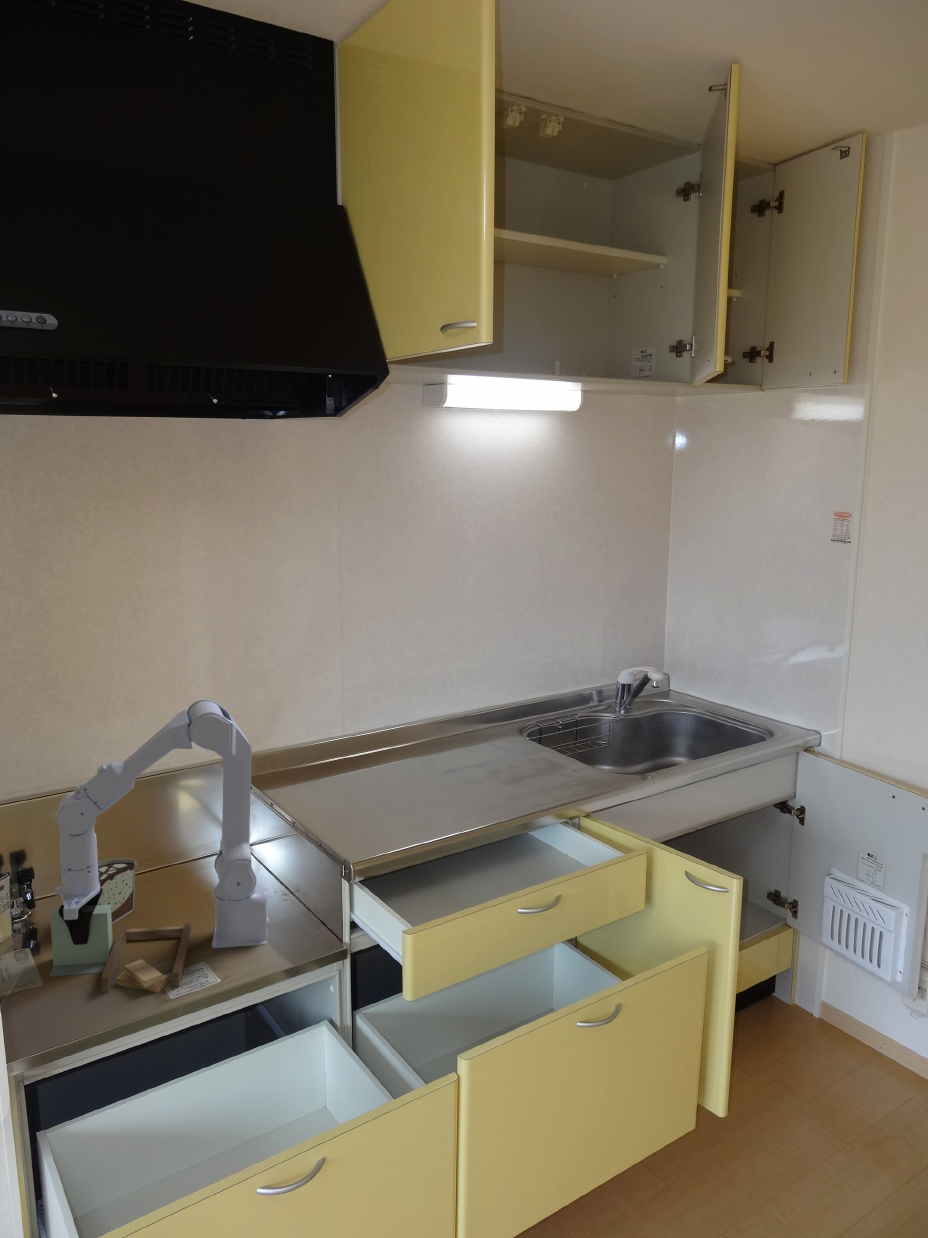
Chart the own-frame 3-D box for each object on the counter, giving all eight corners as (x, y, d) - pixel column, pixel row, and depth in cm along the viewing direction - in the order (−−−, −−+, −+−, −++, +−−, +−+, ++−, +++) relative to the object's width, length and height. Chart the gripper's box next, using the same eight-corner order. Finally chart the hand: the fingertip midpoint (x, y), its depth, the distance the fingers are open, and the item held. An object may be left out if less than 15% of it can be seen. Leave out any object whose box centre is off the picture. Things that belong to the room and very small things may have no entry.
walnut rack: (191, 935, 162) (191, 920, 162) (179, 989, 146) (178, 972, 145) (122, 940, 160) (121, 924, 160) (101, 995, 144) (101, 978, 143)
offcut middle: (168, 982, 147) (168, 976, 147) (157, 992, 144) (157, 986, 144) (127, 975, 149) (127, 968, 149) (116, 985, 146) (116, 978, 146)
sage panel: (113, 952, 155) (110, 904, 154) (109, 962, 152) (107, 913, 151) (57, 956, 154) (55, 907, 152) (53, 966, 151) (50, 916, 149)
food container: (114, 900, 174) (111, 852, 173) (139, 906, 172) (137, 858, 170) (65, 930, 163) (62, 879, 161) (91, 937, 161) (88, 885, 159)
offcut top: (162, 981, 145) (162, 974, 145) (145, 988, 143) (144, 981, 143) (141, 965, 150) (141, 959, 150) (124, 972, 147) (124, 965, 147)
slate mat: (117, 946, 158) (117, 943, 158) (106, 974, 149) (106, 971, 149) (63, 949, 157) (63, 947, 156) (49, 978, 148) (49, 976, 148)
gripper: (65, 846, 156) (69, 918, 159) (41, 884, 142) (46, 963, 145) (107, 844, 157) (110, 915, 160) (88, 882, 143) (92, 960, 146)
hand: (83, 938), depth 152 cm, fingers closed on sage panel, 3 cm apart
